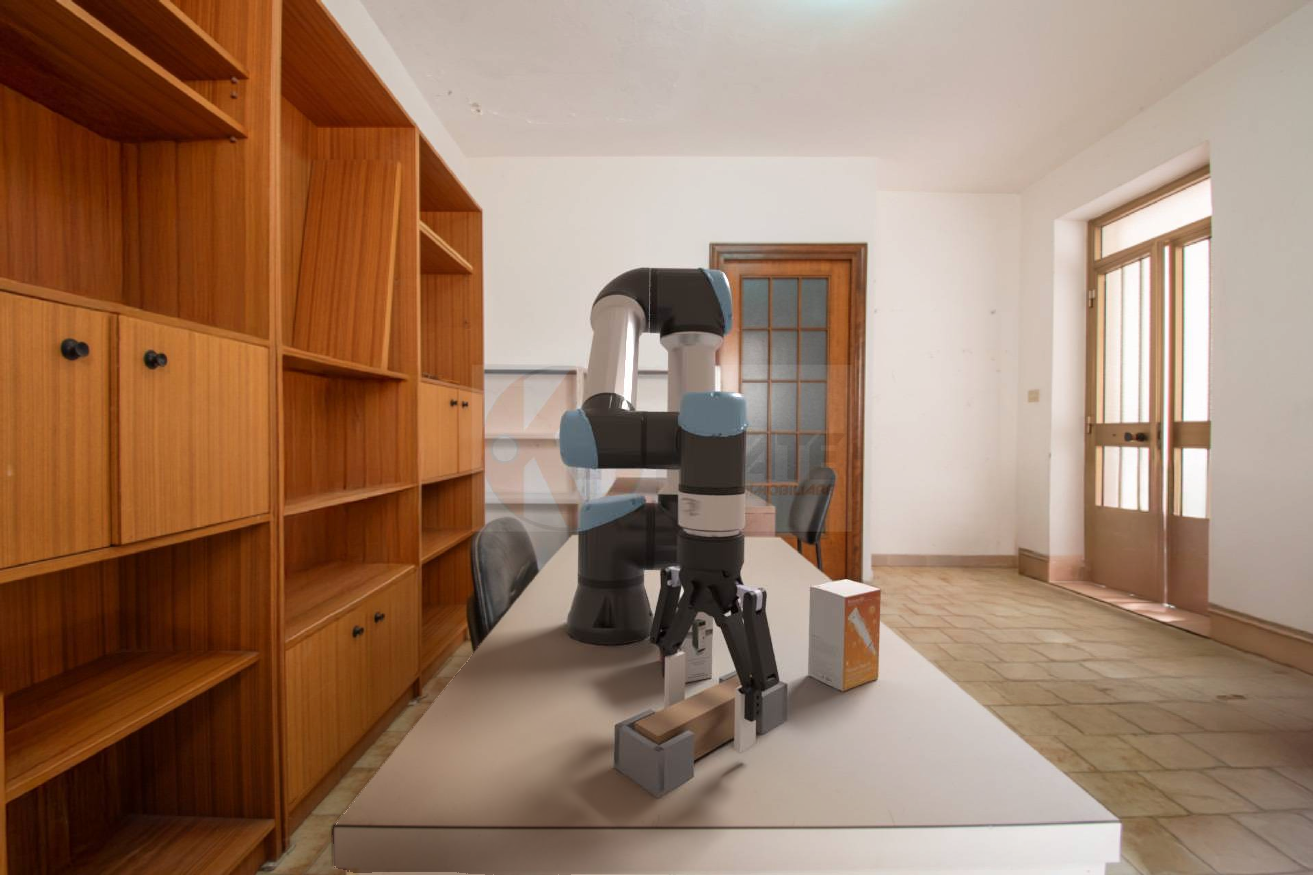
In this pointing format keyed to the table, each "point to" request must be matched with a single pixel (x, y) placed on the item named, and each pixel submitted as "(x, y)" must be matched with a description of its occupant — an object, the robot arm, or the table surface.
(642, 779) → the endcap
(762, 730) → the endcap
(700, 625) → the ink box
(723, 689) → the slat
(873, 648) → the small box
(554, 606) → the table surface
